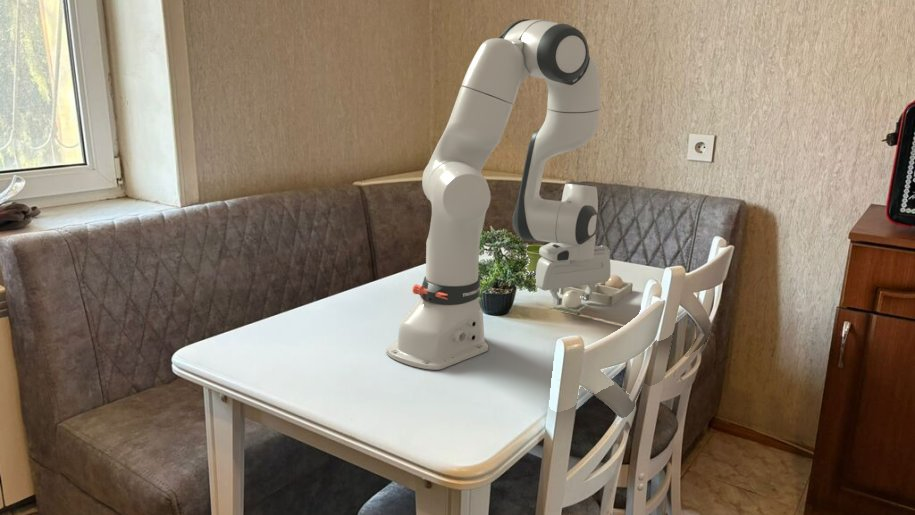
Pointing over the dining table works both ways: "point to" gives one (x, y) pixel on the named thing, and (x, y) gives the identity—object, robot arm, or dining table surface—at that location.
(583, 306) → the glass coaster
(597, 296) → the egg tray
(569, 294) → the off-white ball
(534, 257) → the plant pot
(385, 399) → the dining table surface
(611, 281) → the brown egg
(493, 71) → the robot arm
